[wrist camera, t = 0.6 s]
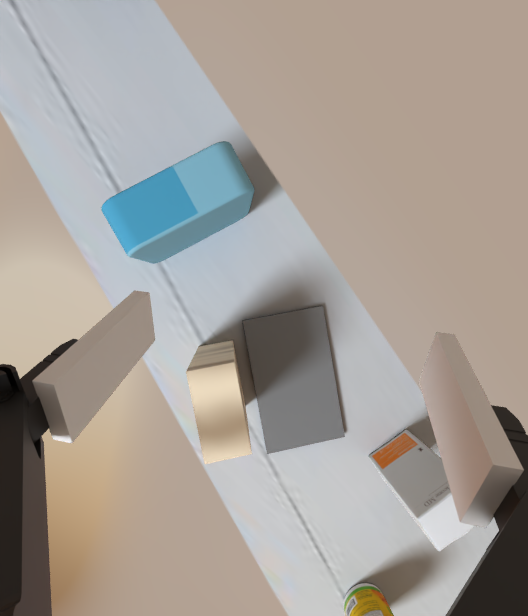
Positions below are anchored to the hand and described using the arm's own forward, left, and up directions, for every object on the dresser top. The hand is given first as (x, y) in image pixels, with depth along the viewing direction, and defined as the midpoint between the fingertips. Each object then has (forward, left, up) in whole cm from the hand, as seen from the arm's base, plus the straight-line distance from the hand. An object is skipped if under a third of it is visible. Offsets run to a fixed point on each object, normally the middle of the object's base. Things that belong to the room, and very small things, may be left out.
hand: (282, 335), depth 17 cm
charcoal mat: (+10, +3, -25) cm, 27 cm away
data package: (-10, -5, -25) cm, 28 cm away
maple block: (+8, -5, -25) cm, 26 cm away
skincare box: (+22, +14, -25) cm, 36 cm away
